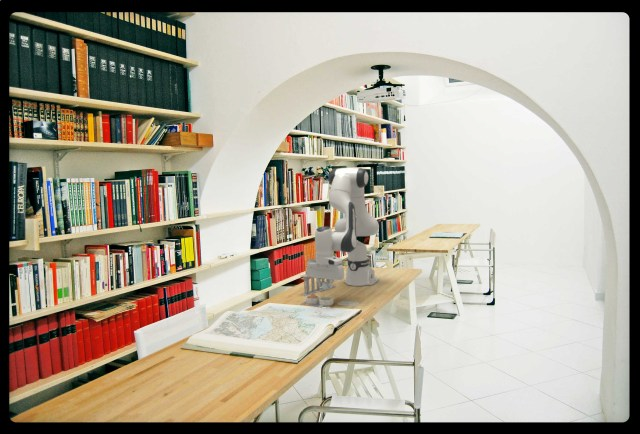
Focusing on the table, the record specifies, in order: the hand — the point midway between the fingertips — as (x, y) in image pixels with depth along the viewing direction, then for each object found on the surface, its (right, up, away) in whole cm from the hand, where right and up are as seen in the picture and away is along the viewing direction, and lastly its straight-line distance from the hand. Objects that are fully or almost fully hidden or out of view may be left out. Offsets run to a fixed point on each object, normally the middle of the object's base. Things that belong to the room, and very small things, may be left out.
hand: (325, 287), depth 239 cm
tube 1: (-6, -8, +5) cm, 12 cm away
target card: (-4, -9, +2) cm, 10 cm away
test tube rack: (-4, -7, +30) cm, 31 cm away
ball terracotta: (-6, -8, +5) cm, 12 cm away
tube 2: (0, -8, +1) cm, 8 cm away
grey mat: (+11, -8, 0) cm, 14 cm away
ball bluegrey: (0, -1, 0) cm, 1 cm away
